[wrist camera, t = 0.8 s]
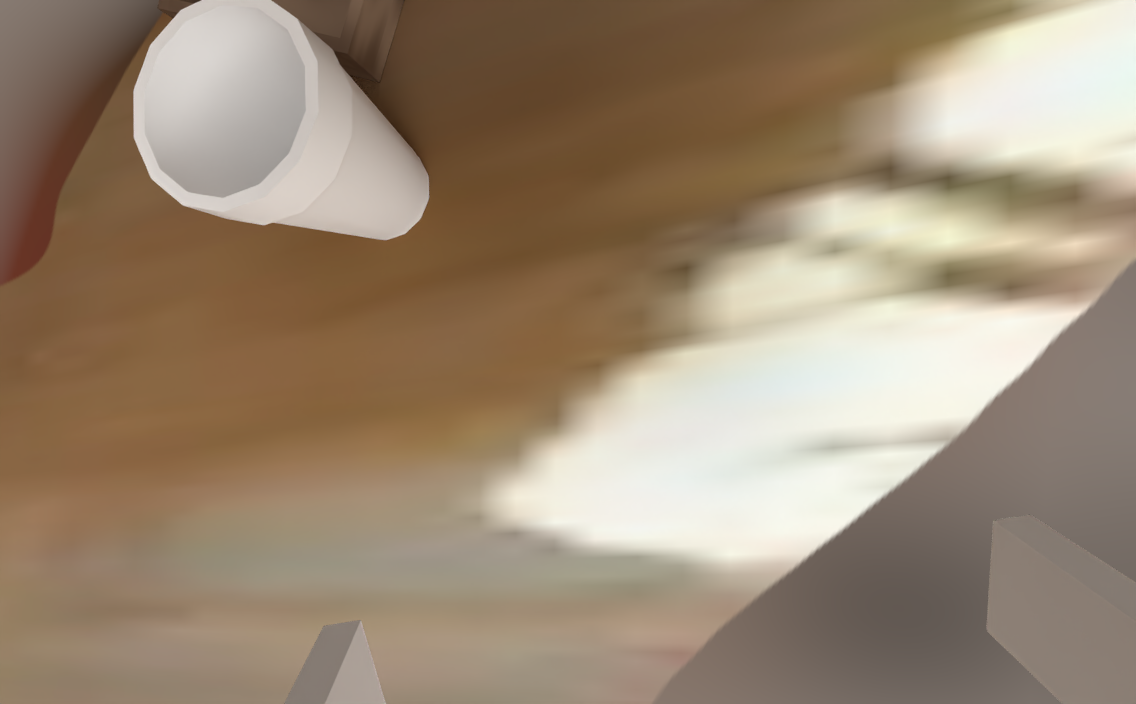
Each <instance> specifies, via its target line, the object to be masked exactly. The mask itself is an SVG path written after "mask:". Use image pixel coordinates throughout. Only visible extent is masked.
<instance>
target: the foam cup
mask: <svg viewBox="0 0 1136 704" xmlns="http://www.w3.org/2000/svg"><path fill="white" fill-rule="evenodd" d="M134 139H135V142H136V144H137V146H138V149H139V151H140V153H141V156H142V158H143V160H144V163H145V165H146V168H147V170H148V172H149V175H150V177H151V179H152V180H153V181H155V182H156V183H157V184H158V185H159V186H161V187H162V188H163V189H164V190H165V191H166V192H168V193H169V194H170V195H171V196H172V197H174V198H175V199H176V200H177V201H178V202H180V203H181V204H182V205H184V206H187V207H190V208H193V209H196V210H200V211H203V212H206V213H209V214H213V215H216V216H219V217H222V218H226V219H231V220H236V221H242V222H248V223H254V224H260V225H267V224H269V223H272V222H273V223H280V224H286V225H292V226H298V227H305V228H311V229H317V230H323V231H330V232H336V233H342V234H348V235H355V236H361V237H367V238H373V239H379V240H388V239H391V238H394V237H397V236H400V235H403V234H406V233H407V232H408V231H409V230H410V229H411V228H412V227H413V226H414V225H415V224H416V223H417V222H418V221H419V220H420V219H421V217H422V214H423V212H424V210H425V207H426V205H427V202H428V200H429V176H428V174H427V172H426V170H425V168H424V166H423V164H422V162H421V160H420V158H419V157H418V156H417V155H416V153H415V152H414V150H413V149H412V148H411V147H410V146H409V145H408V143H407V142H406V141H405V140H404V139H403V138H402V136H401V135H400V134H399V133H398V132H397V131H396V129H395V128H394V127H393V126H392V125H391V124H390V122H389V121H388V120H387V119H386V118H385V117H384V115H383V114H382V113H381V112H380V111H379V110H378V108H377V107H376V106H375V105H374V104H373V103H372V101H371V100H370V99H369V98H368V97H367V96H366V94H365V93H364V92H363V91H362V90H361V89H360V87H359V86H358V85H357V84H356V83H355V82H354V80H353V79H352V78H351V77H350V76H349V75H348V73H347V72H346V71H345V70H344V69H343V68H342V66H341V65H340V64H339V62H338V59H337V57H336V55H335V53H334V51H333V49H331V48H330V47H329V46H328V45H327V44H326V43H325V42H323V41H322V40H321V39H320V38H319V37H318V36H317V35H315V34H314V33H313V32H312V31H311V30H310V29H309V28H307V27H306V26H305V25H304V24H303V23H302V22H300V21H299V20H298V19H297V18H296V17H294V16H293V15H291V14H290V13H289V12H287V11H286V10H284V9H283V8H281V7H280V6H279V5H277V4H276V3H274V2H273V1H272V0H201V1H199V2H197V3H195V4H192V5H190V6H188V7H186V8H184V9H182V10H180V11H179V13H178V14H177V15H176V16H175V17H174V18H173V20H172V21H171V22H170V23H169V24H168V25H167V26H166V28H165V29H164V30H163V31H162V32H161V33H160V35H159V36H158V37H157V38H156V39H155V40H154V41H153V43H152V44H151V45H150V47H149V50H148V53H147V55H146V58H145V61H144V64H143V66H142V69H141V72H140V74H139V77H138V80H137V83H136V85H135V88H134Z"/></svg>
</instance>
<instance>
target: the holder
mask: <svg viewBox="0 0 1136 704" xmlns="http://www.w3.org/2000/svg"><path fill="white" fill-rule="evenodd" d="M199 1H201V0H159V4H158V9H160V10H161V11H163V12H164V13H166V14H167V15H169V16H170V17H172V18H174V17H175V16H176V15H177V14H178V13H179V11H180V10H182V9H184V8H186V7H188V6H190V5H192V4H195V3H197V2H199ZM272 1H273V2H274V3H276V4H277V5H279V6H280V7H281V8H283V9H284V10H286V11H287V12H289V13H290V14H291V15H293V16H294V17H296V18H297V19H298V20H299V21H300V22H302V23H303V24H304V25H305V26H306V27H307V28H309V29H310V30H311V31H312V32H313V33H314V34H315V35H317V36H318V37H319V38H320V39H321V40H322V41H323V42H325V43H326V44H327V45H328V46H329V47H330V48H331V49H333V51H334V53H335V55H336V57H337V59H338V62H339V64H340V65H341V66H342V68H343V69H344V70H345V71H346V72H347V73H348V75H352V76H356V77H360V78H364V79H368V80H372V81H376V82H380V79H381V76H382V73H383V69H384V66H385V63H386V59H387V56H388V53H389V49H390V46H391V43H392V39H393V36H394V33H395V30H396V26H397V23H398V20H399V16H400V13H401V10H402V6H403V3H404V0H272Z"/></svg>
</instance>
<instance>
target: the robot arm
mask: <svg viewBox="0 0 1136 704" xmlns="http://www.w3.org/2000/svg"><path fill="white" fill-rule="evenodd" d="M987 631H988V632H989V633H990V634H991V635H992V636H993V637H994V638H995V639H996V640H997V641H998V642H999V643H1000V644H1001V645H1002V646H1003V647H1004V648H1005V649H1006V650H1007V651H1008V652H1009V653H1010V654H1011V655H1012V656H1013V657H1014V658H1015V659H1017V660H1018V661H1019V662H1020V663H1021V664H1022V665H1023V666H1024V667H1025V668H1026V669H1027V670H1028V671H1029V672H1030V673H1031V674H1032V675H1033V676H1034V677H1035V678H1036V679H1037V680H1038V681H1039V682H1040V683H1041V684H1042V685H1043V686H1044V687H1046V688H1047V689H1048V690H1049V691H1050V692H1051V693H1052V694H1053V695H1054V696H1055V697H1056V698H1057V699H1058V700H1059V701H1060V702H1061V703H1062V704H1136V582H1134V581H1132V580H1131V579H1129V578H1128V577H1126V576H1125V575H1123V574H1122V573H1120V572H1119V571H1117V570H1115V569H1114V568H1112V567H1111V566H1109V565H1108V564H1106V563H1105V562H1103V561H1101V560H1100V559H1098V558H1097V557H1095V556H1094V555H1092V554H1091V553H1089V552H1088V551H1086V550H1084V549H1083V548H1081V547H1080V546H1078V545H1077V544H1075V543H1074V542H1072V541H1070V540H1069V539H1067V538H1066V537H1064V536H1063V535H1061V534H1060V533H1058V532H1056V531H1055V530H1053V529H1052V528H1050V527H1049V526H1047V525H1046V524H1044V523H1042V522H1041V521H1039V520H1038V519H1036V518H1035V517H1033V516H1031V515H1024V516H1017V517H1010V518H1004V519H998V520H993V533H992V549H991V565H990V582H989V597H988V615H987ZM284 704H386V703H385V700H384V696H383V693H382V690H381V686H380V683H379V680H378V676H377V673H376V669H375V666H374V663H373V659H372V656H371V653H370V649H369V646H368V642H367V639H366V636H365V632H364V629H363V626H362V622H361V620H358V621H352V622H345V623H339V624H333V625H326V626H323V628H322V630H321V632H320V634H319V636H318V638H317V640H316V642H315V644H314V646H313V648H312V650H311V652H310V654H309V656H308V658H307V660H306V662H305V664H304V666H303V668H302V670H301V671H300V673H299V675H298V677H297V679H296V681H295V683H294V685H293V687H292V689H291V691H290V693H289V695H288V697H287V699H286V701H285V703H284Z"/></svg>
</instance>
